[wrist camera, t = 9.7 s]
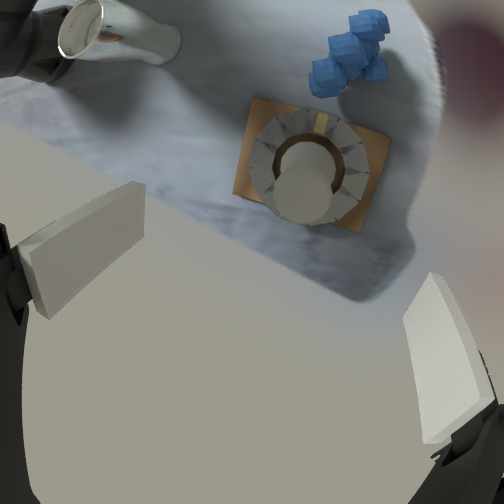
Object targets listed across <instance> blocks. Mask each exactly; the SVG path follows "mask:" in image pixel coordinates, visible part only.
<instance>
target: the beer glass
mask: <svg viewBox="0 0 504 504" xmlns="http://www.w3.org/2000/svg"><path fill="white" fill-rule="evenodd" d="M180 45H181V35H180V32H179V31H178V29H177V28H176V27H174V26H172V25H168V24H160V23H157V22H155V21H153V20H152V19H151V18H149V17H148V16H147V15H145V14H144V13H142V12H141V11H139V10H138V9H136V8H134V7H132V6H130V5H127V4H125V3H122V2H118V1H114V0H81V1H80V2H78V3H77V4H76V5H75V6H74V7H73V8H72V9H71V10H70V11H69V13H68V14H67V15H66V17H65V19H64V21H63V23H62V25H61V27H60V30H59V34H58V49H59V52H60V53H61V55H62V56H63V57H65V58H67V59H78V60H85V61H94V62H117V61H125V60H133V59H140V60H143V61H145V62H147V63H149V64H152V65H160V64H164V63H166V62H168V61H170V60H171V59H172V58H173V57H174V56H175V55H176V54H177V52H178V50H179V48H180Z"/></svg>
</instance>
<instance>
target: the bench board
mask: <svg viewBox="0 0 504 504" xmlns="http://www.w3.org/2000/svg"><path fill="white" fill-rule="evenodd" d="M299 109H302V108H298V107H294V106H290V105H286V104H282V103H277V102H273V101H268V100H263V99H258V98H253V97H252V102H251V106H250V111H249V115H248V120H247V125H246V129H245V134H244V139H243V144H242V148H241V153H240V158H239V163H238V168H237V173H236V178H235V183H234V188H233V193H232V194H234V195H238V196H241V197H245V198H248V199H252V200H255V201H259V202H262V201H261V200H260V199H259V198H258V197H259V196H260V195H261V194H259V195H256V192H255V189H254V185H253V182H252V179H251V176H250V173H249V170H248V169H249V168H251V167H249V166H248V165H249V160H250V155H251V151H252V146H253V142H254V140H255V139H257V138H256V136H257V135H258V134H259V133H260V132H261V131H262V129H263V128H264V127H265V126H266V125H267V124H268V123H269V122H270V121H271V120H272V119H273V118H274V117H278V115H280V114H284V113H288V112H291V111H295V110H299ZM308 112H309V110H308ZM338 120H339V119H338ZM345 122H346V121H345ZM346 123H347V125H348V126H349V127H350V128H351V129H352V130H353V131H354V132H355V133H356V134H357V135H358V136H359V137H360V138H361V140H362V141H361V142H363V143H364V147H365V151H366V156H367V160H368V165H369V170H370V171H369V172H368V173H369V174H370V175H369V178H368V181H367V184H366V187H365V190H364V192H363V195H362V198H361V200H358V202H359V203H358V204H357V205H356V206H355V207H353V208H352V209H351V210H350V211H349V212H348V213H346V214H345V215H344V216H343V217H341V218H340V219H339V220H338V219H337V218H336V217H335V220H336V221H335V222H329V223H331V224H334V225H337V226H340V227H343V228H346V229H349V230H352V231H355V232H358V233H359V231H360V229H361V226H362V224H363V221H364V219H365V216H366V214H367V211H368V208H369V206H370V203H371V200H372V197H373V195H374V192H375V189H376V186H377V183H378V180H379V178H380V175H381V172H382V169H383V166H384V163H385V160H386V156H387V153H388V150H389V147H390V144H391V140H392V138H389V137H387V136H384V135H382V134H379V133H377V132H374V131H371V130H369V129H366V128H363V127H360V126H358V125H355V124H352V123H349V122H346ZM299 142H314V143H316V144H319V145H321V146H324V147H325V148H326V149H327V150H328V152H329V153H330V154H331V155H332V156H333V159H334V162H335V166H336V172H335V177H334V181H333V182H332V183H331V185H330V186H331V190H332V189H333V188H334V187H335V186H336V185H338V184H339V182H340V179H341V176H342V172H343V169H344V163H343V159H342V155H341V151H340V150H339V149H338V148H337V147H336V146H335V145H334V144H333V143H332V142H331V141H330V140H329V139H328V138H327V137H323V136H320V135H317V134H313V133H310V132H307V133H302V134H298V135H294V136H291V137H290V138H289V139H288V140H287V141H286V142H284V143H283V144H282V145H281V146H280V148H279V152H278V156H277V160H276V167H277V170H278V174H279V176H280V175H281V171H280V167H281V159H282V157H283V155H284V154H285V153H286V151H287V150H288V149H289V148H290V147H292V146H294V145H295V144H297V143H299ZM262 203H263V202H262Z"/></svg>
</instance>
